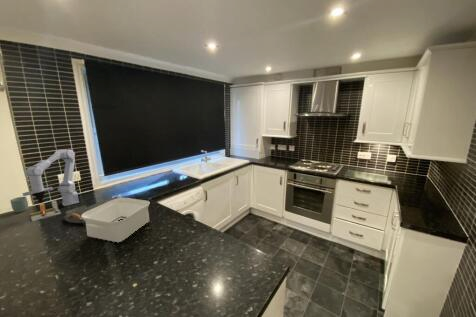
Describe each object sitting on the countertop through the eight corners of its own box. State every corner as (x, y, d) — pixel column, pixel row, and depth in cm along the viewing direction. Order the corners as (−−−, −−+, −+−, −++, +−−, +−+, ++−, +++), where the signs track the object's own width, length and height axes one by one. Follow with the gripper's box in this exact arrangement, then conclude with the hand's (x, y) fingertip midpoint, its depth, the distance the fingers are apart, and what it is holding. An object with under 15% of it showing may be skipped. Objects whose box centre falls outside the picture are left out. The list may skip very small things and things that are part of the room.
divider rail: (57, 207, 148) (56, 200, 146) (60, 212, 141) (58, 204, 140) (30, 214, 137) (28, 206, 136) (31, 219, 130) (29, 211, 129)
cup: (20, 213, 138) (17, 201, 136) (10, 213, 138) (6, 200, 136) (32, 209, 146) (29, 196, 144) (22, 208, 146) (19, 196, 144)
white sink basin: (115, 252, 100) (112, 226, 97) (74, 242, 107) (70, 218, 104) (158, 219, 132) (156, 199, 129) (124, 214, 139) (122, 195, 136)
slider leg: (45, 210, 143) (43, 202, 141) (47, 215, 136) (45, 207, 135) (40, 211, 141) (39, 204, 140) (42, 216, 134) (40, 208, 133)
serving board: (81, 228, 121) (79, 219, 120) (58, 221, 129) (57, 213, 128) (133, 204, 156) (132, 197, 155) (113, 199, 164) (112, 193, 163)
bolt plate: (59, 210, 144) (58, 209, 144) (60, 213, 139) (60, 212, 139) (31, 217, 133) (30, 216, 133) (31, 221, 128) (31, 220, 128)
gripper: (49, 180, 140) (52, 197, 142) (19, 185, 128) (24, 204, 130) (52, 182, 136) (55, 200, 138) (22, 188, 124) (26, 207, 127)
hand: (40, 202), depth 134 cm, fingers closed
